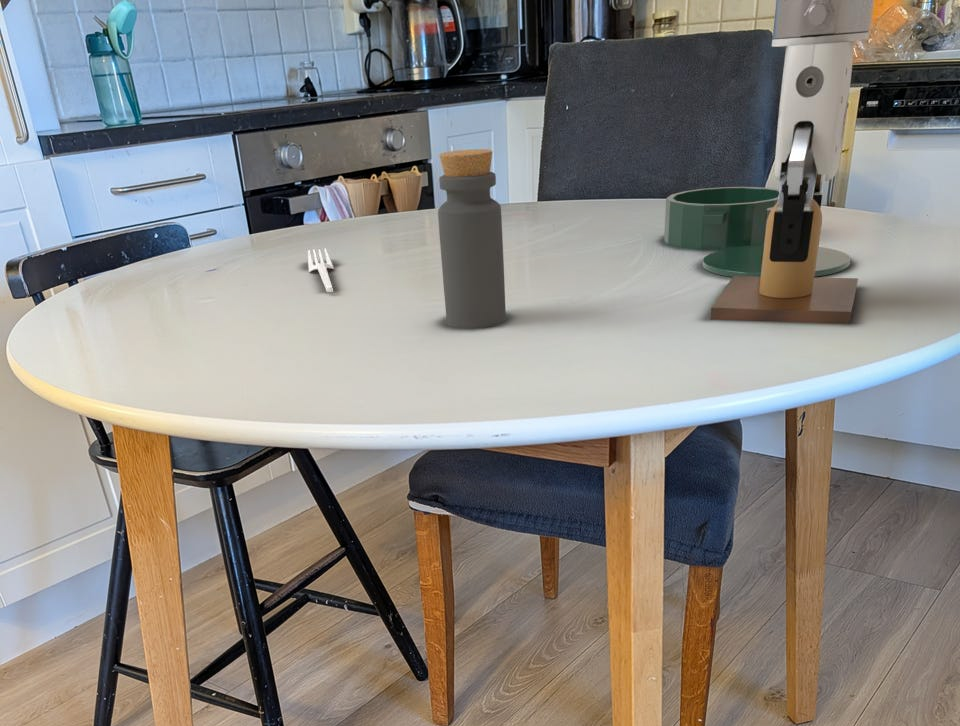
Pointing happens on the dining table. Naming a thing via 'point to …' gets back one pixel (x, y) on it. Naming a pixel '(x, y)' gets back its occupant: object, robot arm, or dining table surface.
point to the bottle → (471, 241)
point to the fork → (321, 268)
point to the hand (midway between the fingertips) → (793, 250)
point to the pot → (718, 217)
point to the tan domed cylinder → (790, 264)
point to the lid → (751, 258)
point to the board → (786, 302)
